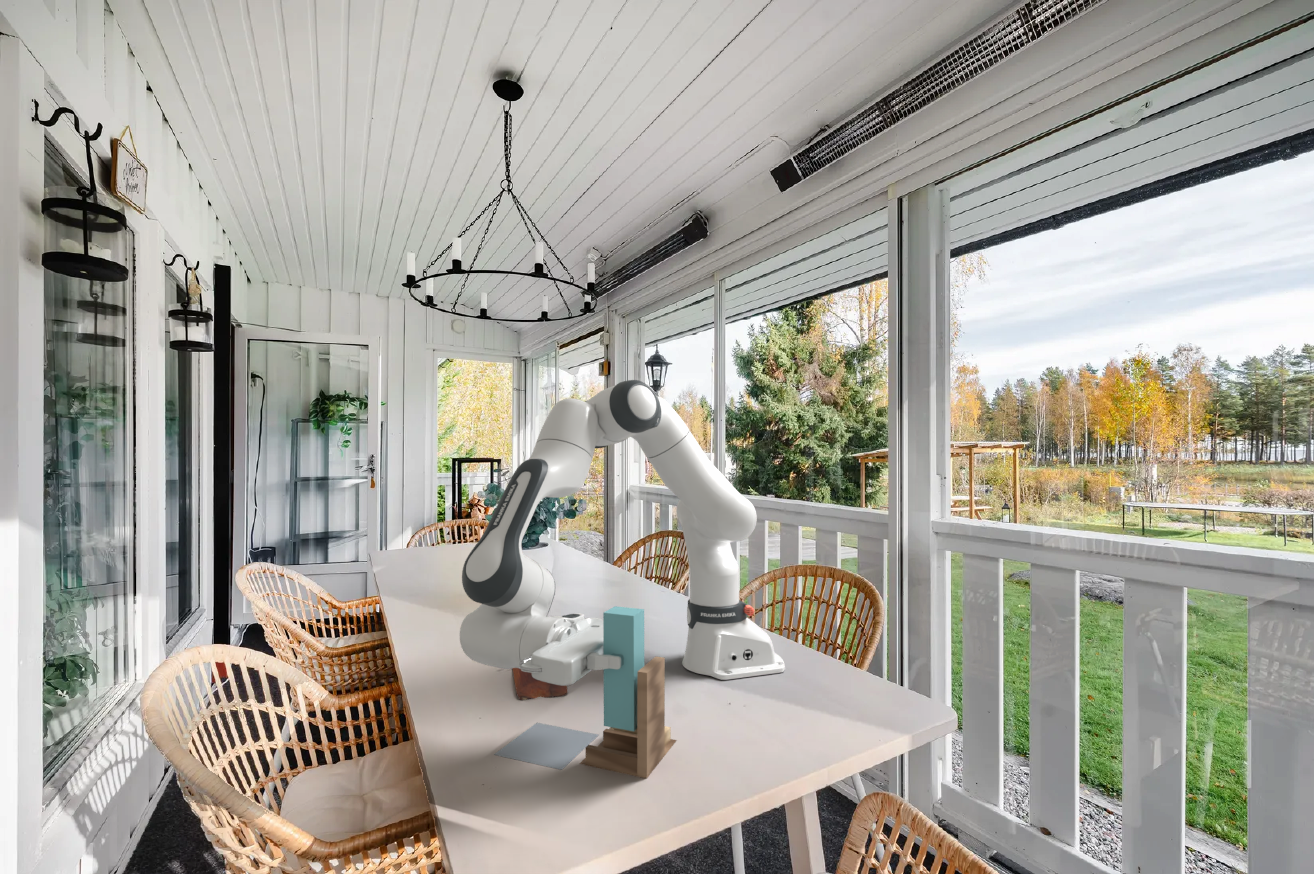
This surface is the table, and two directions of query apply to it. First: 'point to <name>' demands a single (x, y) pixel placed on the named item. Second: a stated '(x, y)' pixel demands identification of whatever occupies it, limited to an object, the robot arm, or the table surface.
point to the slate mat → (547, 745)
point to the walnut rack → (649, 743)
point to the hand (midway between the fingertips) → (629, 656)
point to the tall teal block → (621, 684)
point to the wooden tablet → (535, 687)
